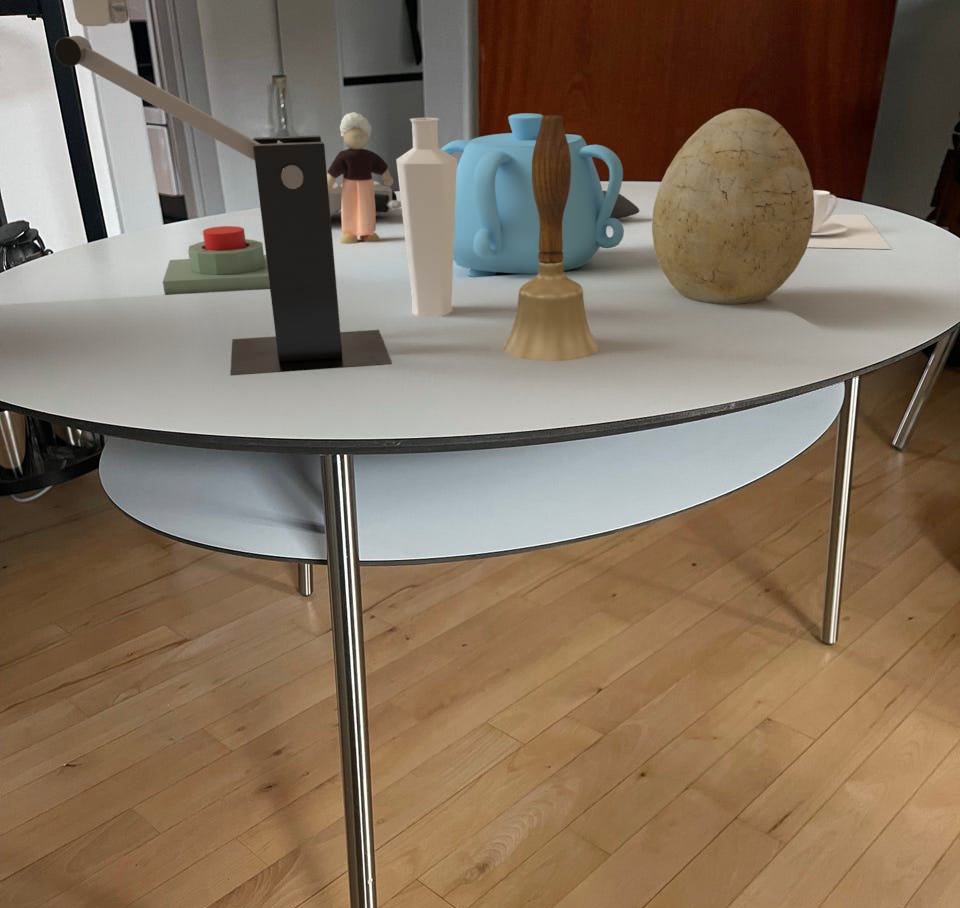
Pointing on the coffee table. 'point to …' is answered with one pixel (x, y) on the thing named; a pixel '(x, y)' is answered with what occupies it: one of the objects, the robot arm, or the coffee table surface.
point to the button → (224, 238)
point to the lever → (150, 93)
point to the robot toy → (383, 199)
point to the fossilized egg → (733, 210)
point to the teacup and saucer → (841, 228)
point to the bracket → (300, 268)
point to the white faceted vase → (428, 218)
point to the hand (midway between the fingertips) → (105, 24)
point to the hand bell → (551, 264)
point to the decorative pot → (527, 202)
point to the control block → (218, 270)
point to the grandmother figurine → (357, 180)
